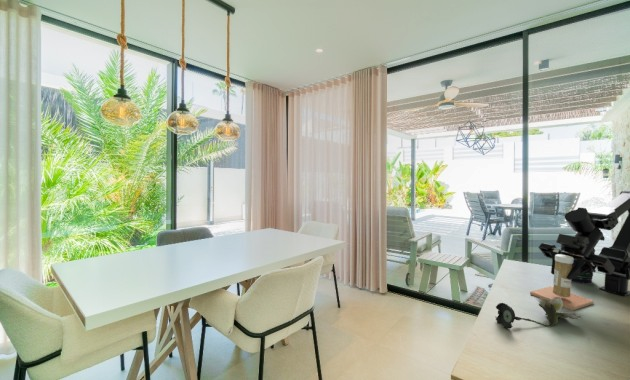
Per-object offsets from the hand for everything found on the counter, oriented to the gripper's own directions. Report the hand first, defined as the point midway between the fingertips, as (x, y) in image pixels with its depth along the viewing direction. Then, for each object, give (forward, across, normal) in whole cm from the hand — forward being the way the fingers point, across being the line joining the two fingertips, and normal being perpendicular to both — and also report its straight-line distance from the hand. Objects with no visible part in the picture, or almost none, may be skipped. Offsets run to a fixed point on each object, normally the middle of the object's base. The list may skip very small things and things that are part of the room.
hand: (559, 276), depth 89 cm
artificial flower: (+21, +7, -8) cm, 24 cm away
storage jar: (-14, -12, +27) cm, 33 cm away
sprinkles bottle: (+4, 0, +6) cm, 7 cm away
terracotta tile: (+4, -1, +8) cm, 9 cm away
